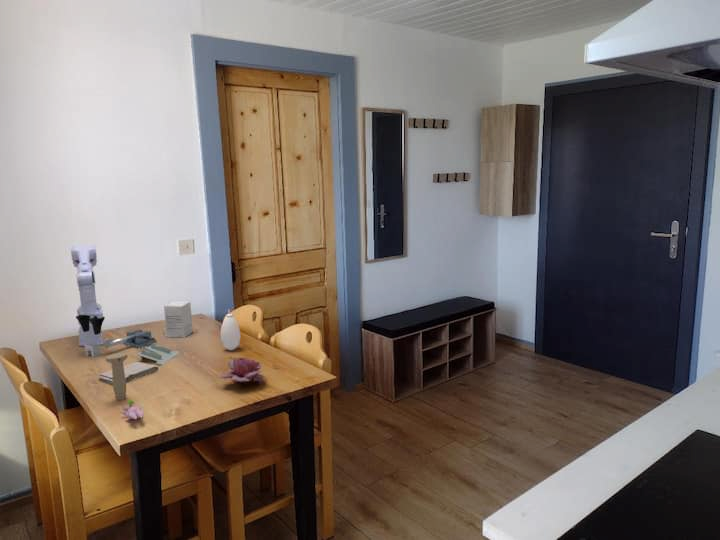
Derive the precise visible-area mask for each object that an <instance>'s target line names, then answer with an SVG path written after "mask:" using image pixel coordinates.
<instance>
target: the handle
mask: <svg viewBox="0 0 720 540" xmlns="http://www.w3.org/2000/svg"><path fill="white" fill-rule="evenodd" d="M127 359H128V353H127V352H117V353H112V354H109V355H107V356H105V361H106V362H107V363H109V364H111V368H112V369H111V370H112V375H113V385H112V387H113V393H114V395H115V396H114V397H115V400H116V401H123V400H125V399H126V398H127V394H126V393H127V382H126V379H125V373H124V367H123V366H124V361H126V360H127Z"/></svg>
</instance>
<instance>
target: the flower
mask: <svg viewBox="0 0 720 540" xmlns="http://www.w3.org/2000/svg"><path fill="white" fill-rule="evenodd" d="M227 367H228V368H229V369H230V371H229V372H226V373H222V374H220V378H222V379H230V381H232V382H237V383H243V382H244V383H243V384H244V385H246V382H259V385H261V384H263V379H264V378H266V376H265V375H263V374H260V373H262V371H263V369H261V368H262V364H261V362H260V361H255V360H254V359H250V358H247V357H242V356H239V357H238V358H237V357H235V358H233V359H231V360H229V361H227Z"/></svg>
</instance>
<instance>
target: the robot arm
mask: <svg viewBox="0 0 720 540" xmlns="http://www.w3.org/2000/svg"><path fill="white" fill-rule="evenodd" d="M96 247H97V246H95V245H85V246H84V245H83V246H82V245H81V246H71V248H70V254H71V255H70V256H71V260H72V264H73V267H75V268H76V270H77V274H76V284H77V287H78V291H79V299H80V305H79V306H78V308H77V309H76V314H77V315H76V316H75V319H76V320H77V322H78V325H79V328H78V338H79V343H78V344H77V345H79V346H82V347H85V344H88V343H95V344H99V345H100V346H101V345H103V335H102V334H103V333H102V326H103V322H104V321H105V319H106V318H105V316H104V313H103V312H104V310H103V306H102V305H101V304H100V303H98V302H97V295H96V276H95V272H94V269H93V268H94V267H95V266H96V265H97V262H98V260H97V249H96Z"/></svg>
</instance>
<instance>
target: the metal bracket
mask: <svg viewBox="0 0 720 540" xmlns="http://www.w3.org/2000/svg"><path fill="white" fill-rule="evenodd" d="M179 353H180V354H181V352H180V351H179V350H173V351H172V350H171V348H167V347H165V346H158V345H157V344H151V345H150V346H147V347H143V348H142V350H141V351H139V352H138V353H136V356H140V359H141V358H143V357H144V358H145V359H148V360H152V361H154V362H155V364H156V365H160V366H162V365H163V364H164V363H166V362H167V361H168V362H170V361H171V360H173V359H174V358H175V356H176V355H178V354H179ZM180 354H179V355H180ZM179 355H178V356H179ZM173 357H174V358H173ZM176 357H177V356H176ZM144 358H143V359H144ZM172 358H173V359H172ZM170 359H171V360H170ZM169 360H170V361H169ZM168 362H167V363H168ZM167 363H166V364H167ZM163 366H164V365H163Z"/></svg>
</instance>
